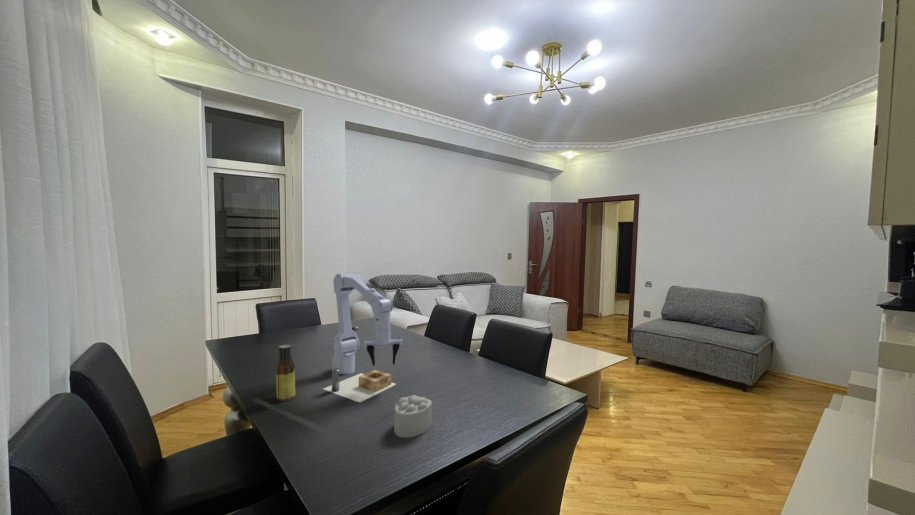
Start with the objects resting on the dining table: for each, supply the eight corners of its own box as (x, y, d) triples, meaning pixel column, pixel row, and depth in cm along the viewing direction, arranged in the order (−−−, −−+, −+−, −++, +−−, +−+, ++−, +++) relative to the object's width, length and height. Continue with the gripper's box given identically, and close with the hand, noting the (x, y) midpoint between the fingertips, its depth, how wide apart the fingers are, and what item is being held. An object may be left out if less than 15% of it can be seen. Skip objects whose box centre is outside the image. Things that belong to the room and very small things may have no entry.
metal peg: (329, 390, 138) (330, 370, 137) (335, 388, 140) (336, 367, 140) (335, 392, 136) (335, 371, 136) (340, 389, 139) (341, 369, 138)
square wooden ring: (358, 386, 142) (358, 376, 142) (374, 379, 150) (375, 369, 150) (375, 392, 138) (375, 381, 137) (391, 384, 145) (391, 374, 145)
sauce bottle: (299, 398, 133) (299, 345, 132) (284, 405, 127) (285, 349, 126) (286, 394, 136) (287, 342, 134) (271, 401, 130) (272, 347, 129)
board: (322, 391, 139) (322, 388, 139) (360, 375, 156) (361, 373, 156) (359, 405, 129) (359, 402, 129) (396, 386, 146) (396, 384, 146)
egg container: (435, 421, 119) (435, 396, 119) (414, 441, 108) (415, 413, 107) (408, 414, 124) (409, 389, 123) (385, 432, 112) (386, 405, 111)
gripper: (362, 332, 136) (363, 368, 136) (401, 330, 138) (402, 366, 138) (365, 328, 143) (365, 363, 143) (402, 327, 145) (402, 360, 145)
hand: (383, 364), depth 141 cm, fingers open, 7 cm apart
